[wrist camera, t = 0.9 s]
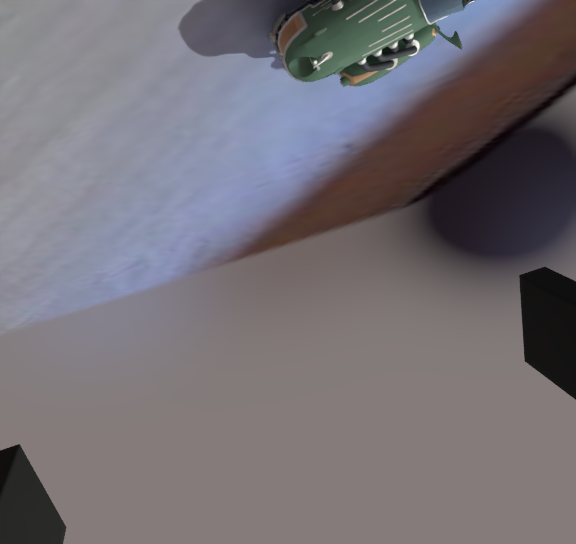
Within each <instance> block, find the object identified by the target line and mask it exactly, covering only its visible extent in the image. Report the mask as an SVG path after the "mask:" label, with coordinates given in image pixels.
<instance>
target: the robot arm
mask: <svg viewBox="0 0 576 544" xmlns="http://www.w3.org/2000/svg"><path fill="white" fill-rule="evenodd" d="M520 293H521V308H522V324H523V340H524V356H525V362H527V363H528V364H529V365H531V366H532V367H533V368H535V369H536V370H537V371H539V372H540V373H541V374H543V375H544V376H545V377H547V378H548V379H549V380H551V381H552V382H553V383H555V384H556V385H557V386H558V387H560V388H561V389H562V390H564V391H565V392H566V393H568V394H569V395H570V396H572V397H573V398H574V399H576V281H574V280H572V279H570V278H567V277H565V276H563V275H561V274H559V273H557V272H555V271H553V270H551V269H548V268H546V267H543V268H540V269H537V270H534V271H531V272H528V273H525V274H522V275H520ZM65 531H66V526H65V524H64V522H63V521H62V519H61V517H60V515H59V514H58V512H57V510H56V508H55V507H54V505H53V503H52V501H51V499H50V498H49V496H48V494H47V492H46V491H45V489H44V487H43V485H42V483H41V482H40V480H39V478H38V476H37V475H36V473H35V471H34V469H33V467H32V466H31V464H30V462H29V460H28V459H27V457H26V455H25V453H24V451H23V450H22V448H21V446H20V445H16V446H13V447H10V448H7V449H4V450H1V451H0V544H63V541H64V536H65Z"/></svg>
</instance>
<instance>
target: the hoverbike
mask: <svg viewBox="0 0 576 544" xmlns="http://www.w3.org/2000/svg"><path fill="white" fill-rule="evenodd" d="M316 1H318V0H311V1H309V2H307V3H305V4H304V5H302V6H300V7H299V8H297V9H295V10H294V11H292V12H291V13H289V14H287V15H286V13H283V14H282V15H281V16H279V18H278V19H277V20H276V21H275V23H274V24H273V26H272V30H271V34H270V35H268V39H271V40H272V43H273V46H274V48H275V50H276V52H277V54H278V56H279V57H280V59H281V60H282V61H283V66H284V67H285V70H286V71H287V73H288V74H289V75H290V76H291V77H292V78H294V79H295V80H298V81H302V82H313V81H316V80H320V79H323V78H325V77H327V76H329V75H332V74H337V73H338V75H339V76H340V77H341V79H340V83H341V85H343V87H345V86H347V85H350V86H362V85H365V84H368V83H371V82H373V81H375V80H377V79H379V78H381V77H382V76H384V75H386V74H387V73H389V72H390V71H392V70H393V69H395V68H396V67H398V66H399V65H401V64H402V63H404V62H405V61H406V60H408V59H409V58H411V57H412V56H414V55H415V54H416V53H418V52H419V51H420V50H422V49H423V48H425V47H426V46H427V45H429V44H430V43H431V42H432V41H433V40H434V38H435V36H436V34H437V33H439V34H440V35H442V36H443V37H444V38H445V39H446V40H448V41H449V42H451V43H452V44H454V45H455V46H457V47H458V48H460V49H461V50H462V44H461V41H460V39H459V36H458V34H457V32H456V31H455V33H454V35H453V37H451V38H450V37H447V36H445V35H444V34H443V33H442V32H441V31H440V28H439V26H437V25H436V21H438V20H440V19H443V18H445V17H447V16H448V15H450V14H452V13H455V12H458V11H462V10H464V8H465V6H466V5H468V4H469V3H471V2H473V1H474V0H322V1H321V2H319V3H317V4H316V5H314V6H312V5H311V3H313V2H316ZM304 7H305V8H304ZM303 8H304V9H303ZM301 9H302V10H301ZM300 10H301V11H300ZM293 14H294V15H293ZM291 15H292V16H291ZM290 16H291V17H290ZM288 17H290V18H289V19H288ZM284 20H286V23H285V24H284V25H283V27H282V28H281V24H282V23H283V21H284ZM277 29H278V33H276V32H277ZM277 40H278V45H277V43H276V42H277Z"/></svg>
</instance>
